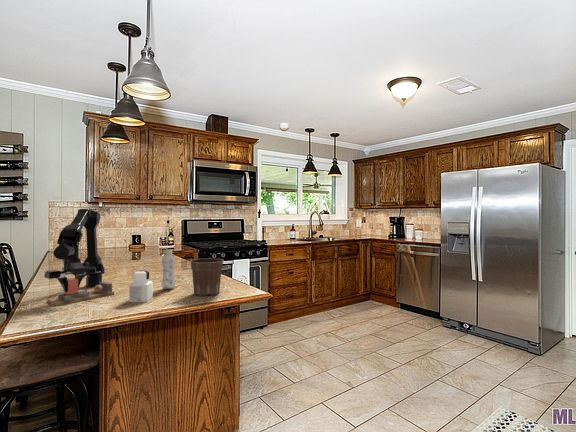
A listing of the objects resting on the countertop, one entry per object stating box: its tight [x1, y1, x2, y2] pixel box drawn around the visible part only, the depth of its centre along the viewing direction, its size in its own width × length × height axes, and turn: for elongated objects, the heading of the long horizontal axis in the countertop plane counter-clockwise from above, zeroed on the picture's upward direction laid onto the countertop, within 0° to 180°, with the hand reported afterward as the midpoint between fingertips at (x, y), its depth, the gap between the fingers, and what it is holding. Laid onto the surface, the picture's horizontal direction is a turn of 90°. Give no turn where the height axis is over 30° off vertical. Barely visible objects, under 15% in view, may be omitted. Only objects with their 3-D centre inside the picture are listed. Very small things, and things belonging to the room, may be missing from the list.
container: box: [128, 269, 154, 303], centre depth 151 cm, size 8×8×13 cm
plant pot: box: [189, 257, 225, 297], centre depth 165 cm, size 16×16×16 cm
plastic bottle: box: [161, 249, 176, 290], centre depth 172 cm, size 6×7×20 cm
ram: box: [63, 277, 88, 296], centre depth 151 cm, size 8×4×8 cm, turn 146°
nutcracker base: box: [46, 280, 115, 307], centre depth 153 cm, size 24×10×5 cm, turn 146°
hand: (71, 291), depth 150 cm, fingers closed on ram, 4 cm apart
